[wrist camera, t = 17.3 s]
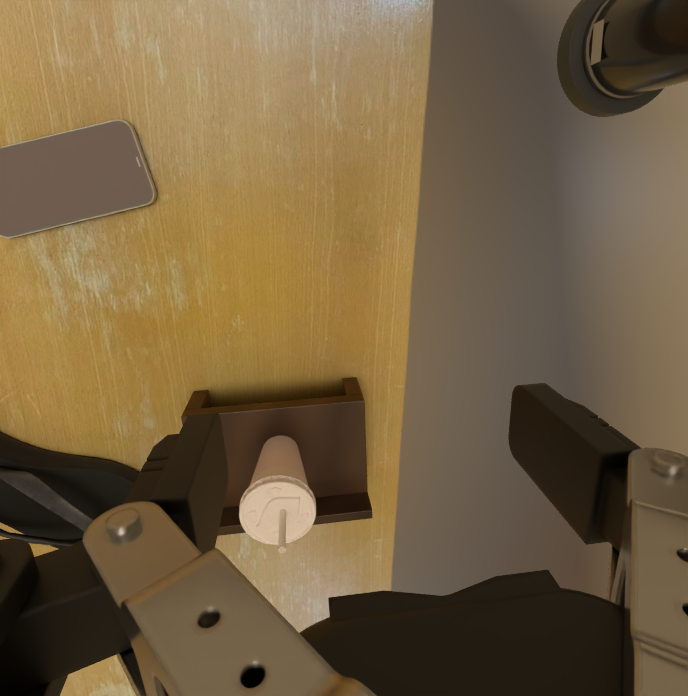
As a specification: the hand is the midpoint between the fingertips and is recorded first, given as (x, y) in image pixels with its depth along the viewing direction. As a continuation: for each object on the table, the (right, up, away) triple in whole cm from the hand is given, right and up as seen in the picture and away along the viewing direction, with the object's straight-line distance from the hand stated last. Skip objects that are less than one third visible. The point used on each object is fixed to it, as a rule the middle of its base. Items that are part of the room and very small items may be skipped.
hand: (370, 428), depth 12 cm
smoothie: (-7, -8, +34) cm, 36 cm away
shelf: (-8, -8, +40) cm, 42 cm away
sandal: (-35, -11, +39) cm, 53 cm away
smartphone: (-26, +18, +29) cm, 43 cm away
